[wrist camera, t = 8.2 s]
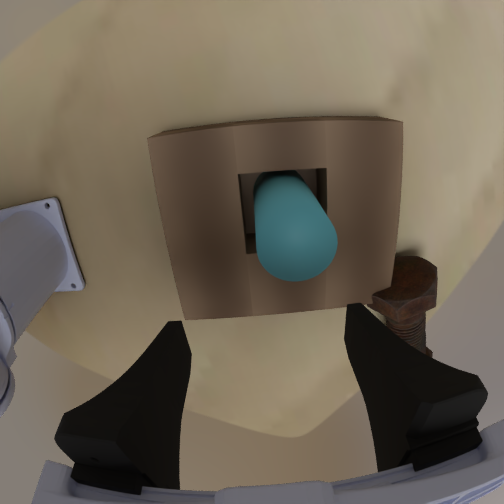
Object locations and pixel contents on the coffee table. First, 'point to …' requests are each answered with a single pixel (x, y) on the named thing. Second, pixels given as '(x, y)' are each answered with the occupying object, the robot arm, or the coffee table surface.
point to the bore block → (243, 218)
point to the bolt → (408, 299)
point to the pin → (291, 227)
